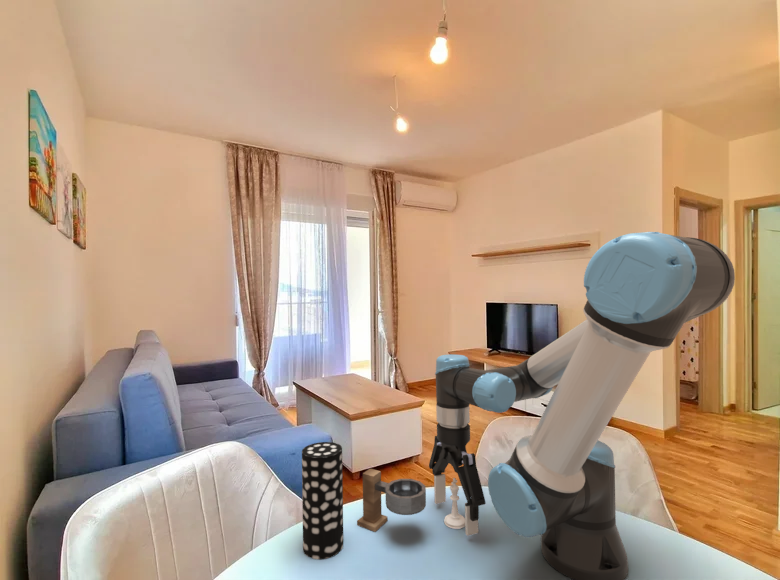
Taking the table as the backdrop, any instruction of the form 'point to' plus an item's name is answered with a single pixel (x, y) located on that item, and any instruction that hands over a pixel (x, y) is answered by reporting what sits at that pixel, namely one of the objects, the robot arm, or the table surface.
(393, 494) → the cup bracket
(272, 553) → the table surface
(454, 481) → the chess piece
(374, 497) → the walnut post
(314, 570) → the table surface
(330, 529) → the white-spotted black cylinder
